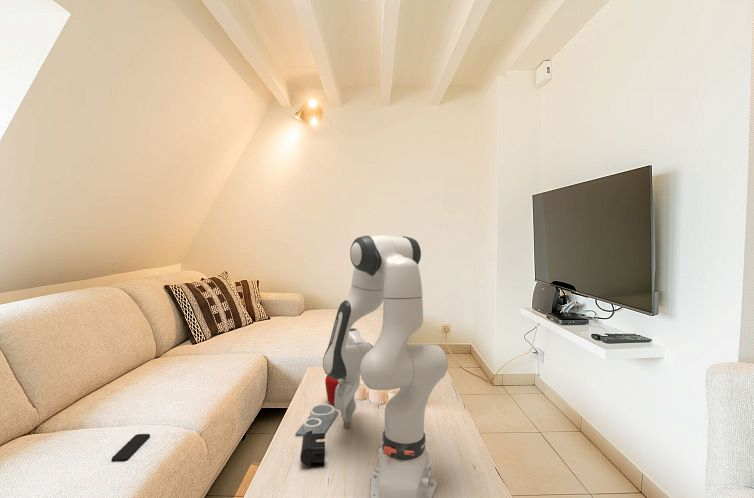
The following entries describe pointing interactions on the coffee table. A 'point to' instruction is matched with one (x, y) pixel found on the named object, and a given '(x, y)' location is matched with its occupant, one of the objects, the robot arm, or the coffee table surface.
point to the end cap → (313, 450)
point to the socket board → (318, 420)
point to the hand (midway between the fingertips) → (347, 411)
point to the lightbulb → (349, 413)
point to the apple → (331, 388)
